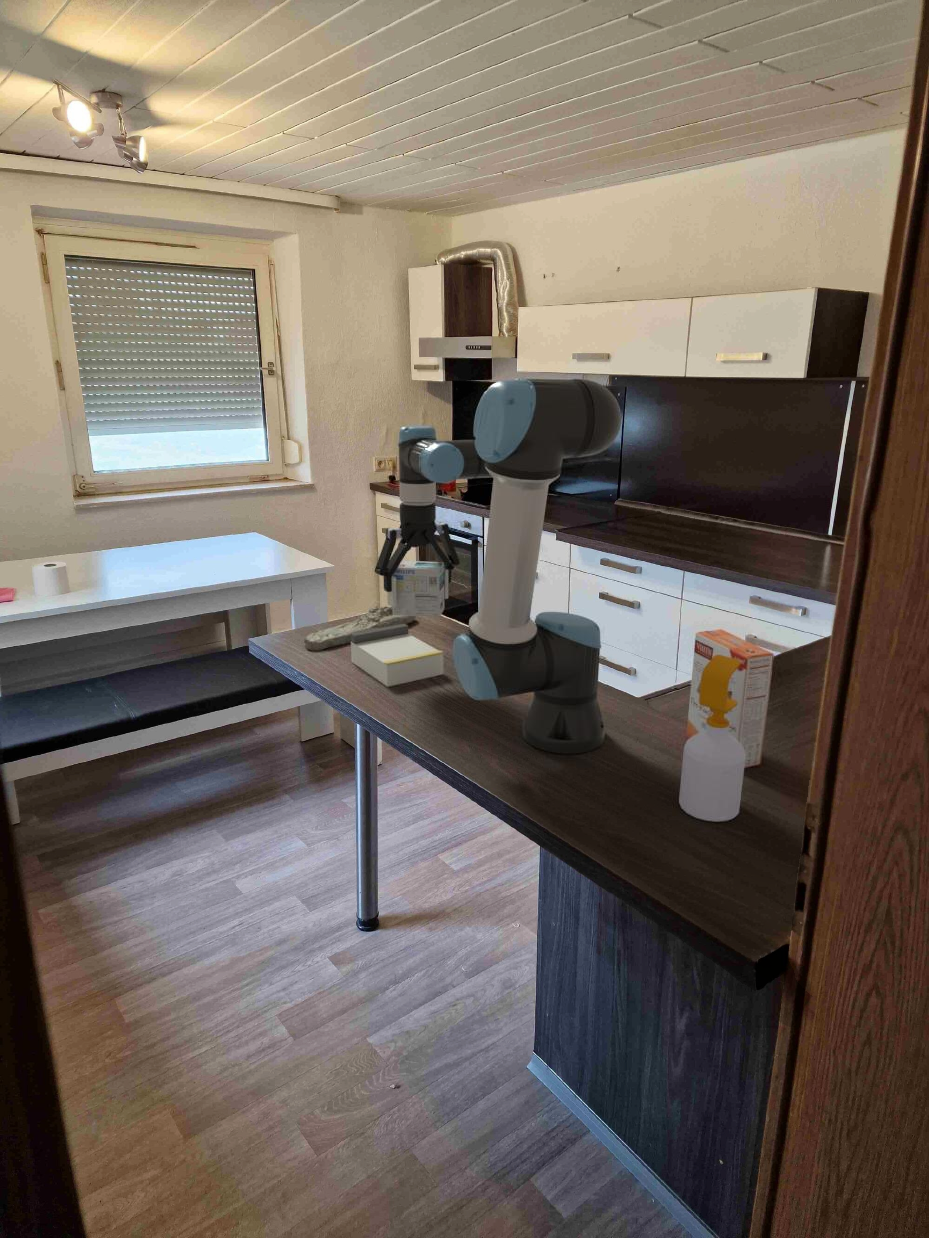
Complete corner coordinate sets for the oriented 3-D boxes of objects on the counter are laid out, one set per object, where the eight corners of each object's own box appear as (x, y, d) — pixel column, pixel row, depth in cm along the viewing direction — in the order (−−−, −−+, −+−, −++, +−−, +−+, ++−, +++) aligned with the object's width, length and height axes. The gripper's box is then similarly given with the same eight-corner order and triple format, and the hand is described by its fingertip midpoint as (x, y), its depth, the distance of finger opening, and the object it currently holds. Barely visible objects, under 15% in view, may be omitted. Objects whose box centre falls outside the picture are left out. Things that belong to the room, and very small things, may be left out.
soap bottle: (748, 806, 126) (766, 659, 119) (723, 830, 120) (740, 675, 113) (695, 787, 132) (709, 645, 125) (668, 808, 126) (681, 660, 118)
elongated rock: (295, 650, 200) (320, 662, 193) (293, 631, 198) (318, 642, 191) (399, 613, 223) (424, 623, 217) (399, 595, 222) (424, 604, 215)
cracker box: (683, 738, 150) (693, 631, 143) (710, 733, 152) (722, 627, 145) (732, 772, 137) (746, 656, 131) (761, 766, 139) (776, 652, 133)
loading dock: (443, 674, 180) (443, 644, 178) (387, 686, 173) (386, 656, 171) (404, 651, 195) (404, 623, 193) (351, 661, 187) (350, 633, 185)
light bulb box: (445, 608, 178) (445, 561, 175) (440, 618, 172) (440, 568, 168) (397, 606, 179) (396, 559, 176) (391, 615, 173) (390, 566, 169)
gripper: (458, 494, 177) (457, 589, 184) (356, 504, 165) (359, 605, 171) (476, 500, 171) (474, 597, 178) (372, 510, 159) (375, 614, 165)
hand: (418, 601), depth 175 cm, fingers closed on light bulb box, 12 cm apart
